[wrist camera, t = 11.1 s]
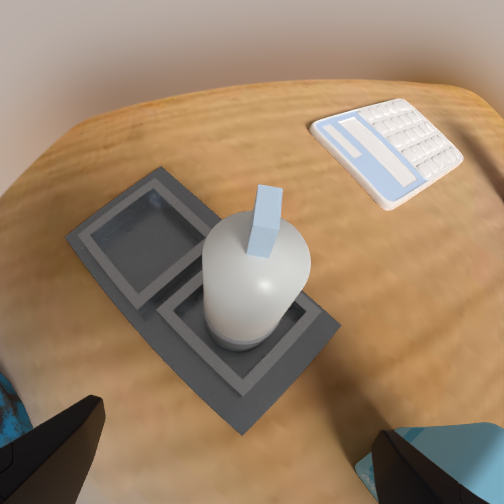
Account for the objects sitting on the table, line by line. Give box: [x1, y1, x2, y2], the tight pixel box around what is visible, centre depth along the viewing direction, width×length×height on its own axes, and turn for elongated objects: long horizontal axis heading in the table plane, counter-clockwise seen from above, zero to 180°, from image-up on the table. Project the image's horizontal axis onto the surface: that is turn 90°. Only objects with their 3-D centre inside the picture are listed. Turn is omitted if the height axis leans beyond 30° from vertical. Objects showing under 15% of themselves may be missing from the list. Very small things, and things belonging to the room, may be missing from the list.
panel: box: [65, 167, 341, 435], centre depth 23 cm, size 11×21×2 cm, turn 47°
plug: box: [202, 184, 311, 352], centre depth 18 cm, size 5×5×12 cm
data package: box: [355, 422, 504, 504], centre depth 13 cm, size 12×4×12 cm, turn 33°
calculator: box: [310, 99, 463, 210], centre depth 35 cm, size 13×20×2 cm, turn 124°
